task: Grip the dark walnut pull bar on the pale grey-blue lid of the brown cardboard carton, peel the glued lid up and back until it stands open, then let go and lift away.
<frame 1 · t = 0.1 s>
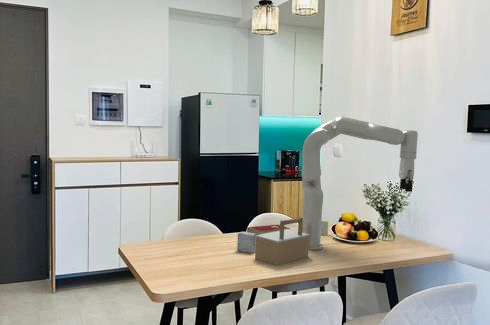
hand: (405, 190, 223), 31 cm above the table, tool pointing down, fingers open, 9 cm apart
hardcover book: (268, 235, 254), on the table
carton: (282, 257, 207), on the table
carton lid: (283, 226, 206), point 14 cm above the table, hinge at 0.0°
medicine box: (246, 251, 216), on the table
candy box: (313, 235, 257), on the table
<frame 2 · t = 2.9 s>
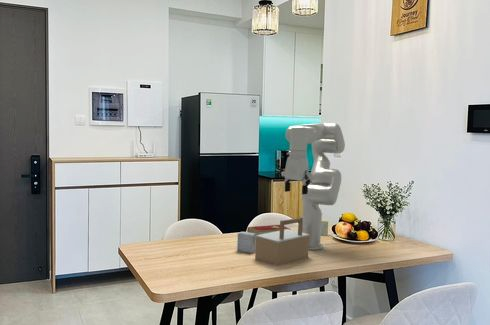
hand: (295, 192, 202), 31 cm above the table, tool pointing down, fingers open, 9 cm apart
nothing on the table moved.
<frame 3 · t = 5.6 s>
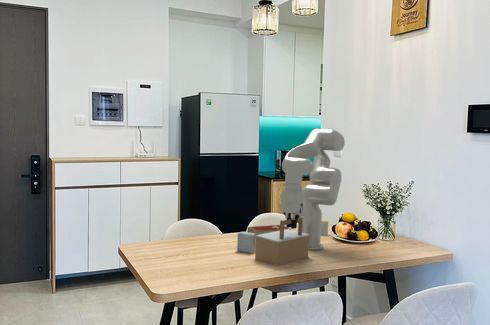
hand: (291, 227, 203), 15 cm above the table, tool pointing down, fingers closed on carton lid, 2 cm apart
carton lid: (283, 226, 206), point 14 cm above the table, hinge at 0.0°, touching gripper
everything else where it was.
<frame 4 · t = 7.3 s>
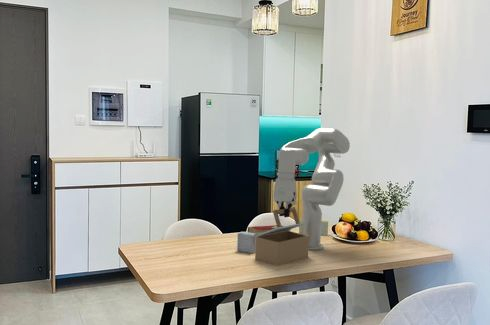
hand: (284, 216, 205), 19 cm above the table, tool pointing down, fingers closed on carton lid, 2 cm apart
carton lid: (279, 220, 207), point 17 cm above the table, hinge at 25.4°, touching gripper
everything else where it was.
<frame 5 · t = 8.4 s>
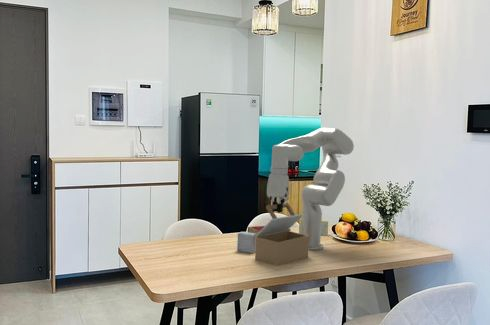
hand: (277, 211, 208), 21 cm above the table, tool pointing down, fingers closed on carton lid, 2 cm apart
carton lid: (275, 217, 209), point 18 cm above the table, hinge at 44.5°, touching gripper
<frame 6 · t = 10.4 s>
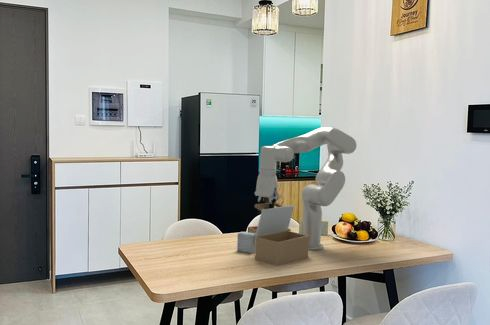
hand: (266, 210, 213), 20 cm above the table, tool pointing down, fingers open, 5 cm apart
carton lid: (269, 216, 212), point 18 cm above the table, hinge at 74.8°
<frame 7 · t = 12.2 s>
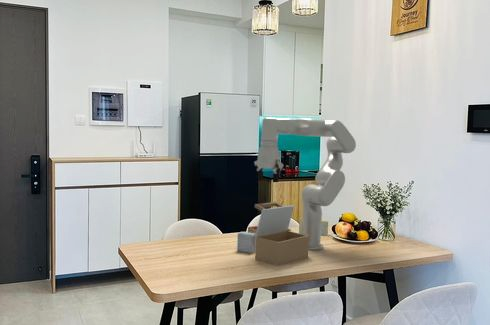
hand: (267, 180, 212), 34 cm above the table, tool pointing down, fingers open, 9 cm apart
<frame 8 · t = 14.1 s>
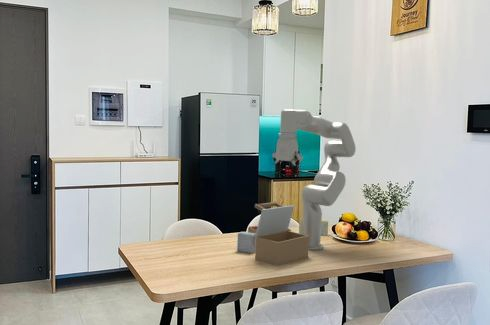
hand: (286, 173, 210), 38 cm above the table, tool pointing down, fingers open, 9 cm apart
at the end: carton lid at +75° (first picture: +0°); the gripper is holding nothing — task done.
